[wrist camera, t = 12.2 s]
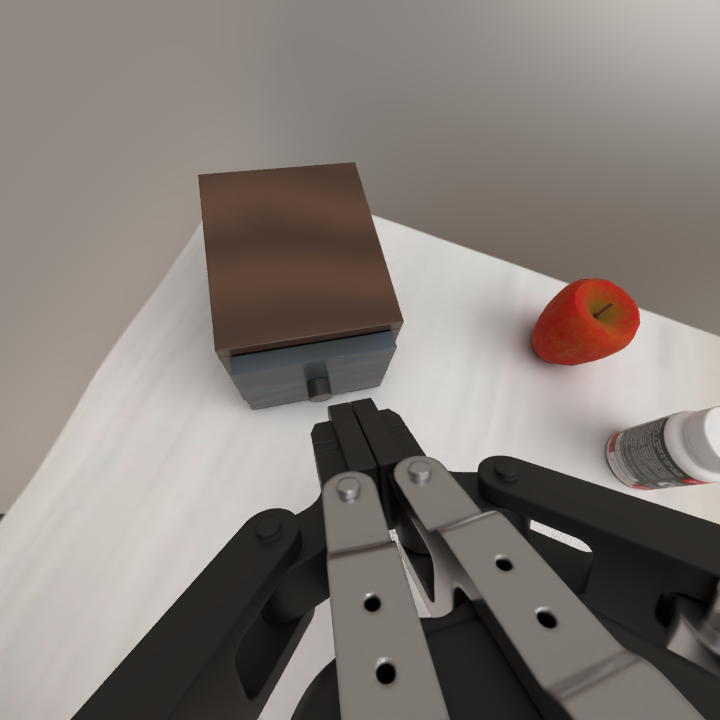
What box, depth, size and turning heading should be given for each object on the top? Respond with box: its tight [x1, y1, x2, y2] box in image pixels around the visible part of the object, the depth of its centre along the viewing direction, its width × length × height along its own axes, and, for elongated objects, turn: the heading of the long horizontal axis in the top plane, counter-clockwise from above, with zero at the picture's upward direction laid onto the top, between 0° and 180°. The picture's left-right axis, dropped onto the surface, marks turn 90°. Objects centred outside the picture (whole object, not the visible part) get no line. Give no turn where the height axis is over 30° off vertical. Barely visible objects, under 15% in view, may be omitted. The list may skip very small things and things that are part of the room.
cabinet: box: [198, 162, 404, 400], centre depth 29 cm, size 14×11×9 cm
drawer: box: [230, 331, 397, 410], centre depth 28 cm, size 14×10×7 cm
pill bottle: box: [606, 406, 720, 490], centre depth 27 cm, size 5×5×8 cm
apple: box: [532, 279, 640, 366], centre depth 31 cm, size 6×6×8 cm
